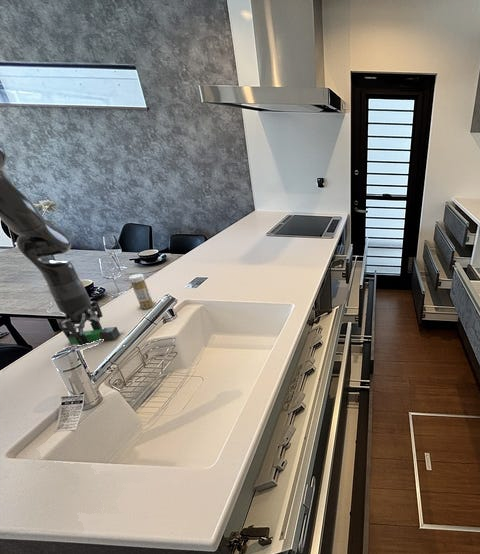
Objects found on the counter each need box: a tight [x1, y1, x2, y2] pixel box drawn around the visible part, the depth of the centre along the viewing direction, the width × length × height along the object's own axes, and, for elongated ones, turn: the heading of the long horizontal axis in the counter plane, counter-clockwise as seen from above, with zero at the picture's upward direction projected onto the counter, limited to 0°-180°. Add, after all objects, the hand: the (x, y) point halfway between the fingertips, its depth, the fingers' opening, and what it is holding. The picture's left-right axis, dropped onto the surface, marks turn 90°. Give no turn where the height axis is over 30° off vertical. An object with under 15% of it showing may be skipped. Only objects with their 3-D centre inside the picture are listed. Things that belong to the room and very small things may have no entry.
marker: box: [67, 326, 121, 345], centre depth 101 cm, size 13×3×3 cm, turn 98°
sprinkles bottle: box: [128, 273, 155, 310], centre depth 119 cm, size 5×5×14 cm
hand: (91, 337), depth 101 cm, fingers open, 6 cm apart
